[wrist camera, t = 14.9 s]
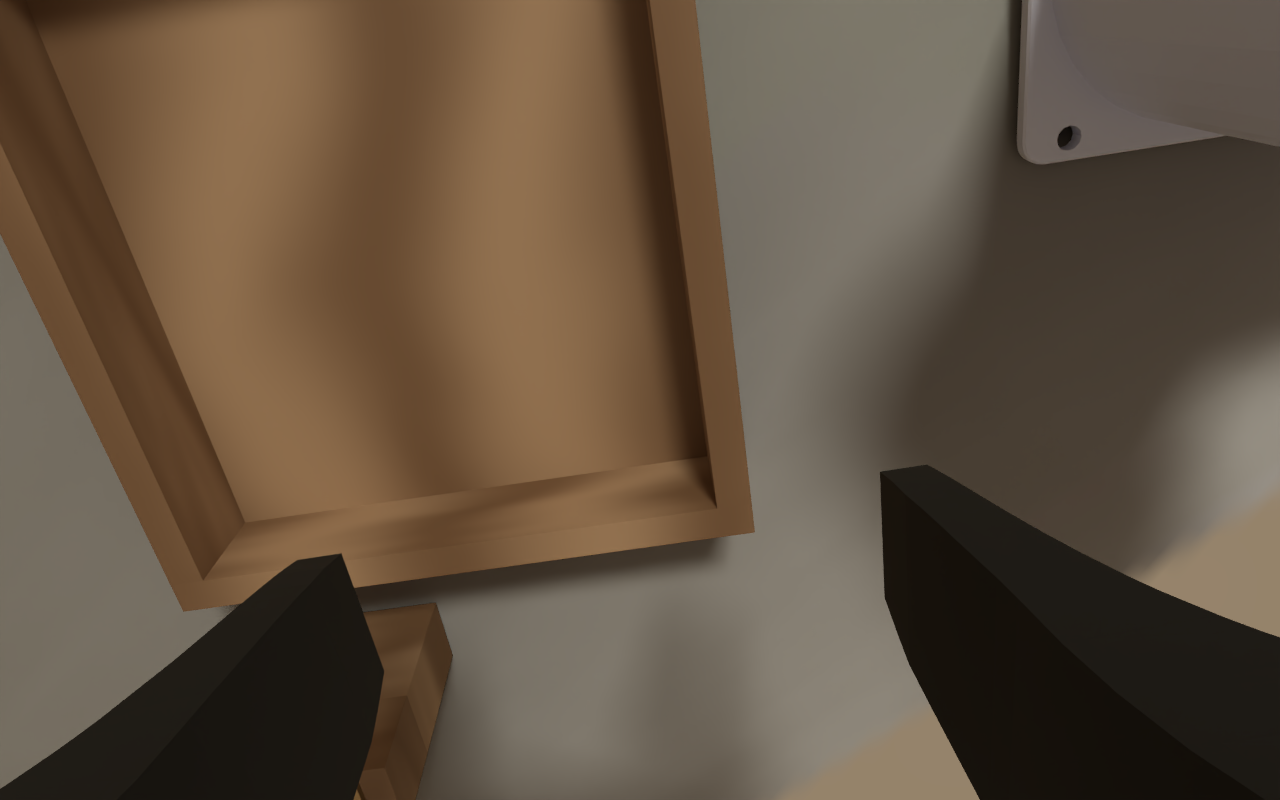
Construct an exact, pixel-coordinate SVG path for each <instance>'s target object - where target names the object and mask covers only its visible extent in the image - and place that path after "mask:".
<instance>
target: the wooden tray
mask: <svg viewBox="0 0 1280 800" xmlns="http://www.w3.org/2000/svg"><path fill="white" fill-rule="evenodd" d="M0 234H1V236H2V238H3V240H4V242H5V244H6V247H7V249H8V251H9V253H10V255H11V257H12V259H13V261H14V263H15V265H16V267H17V269H18V271H19V273H20V275H21V277H22V280H23V282H24V284H25V286H26V288H27V290H28V292H29V294H30V296H31V298H32V300H33V302H34V304H35V306H36V308H37V310H38V313H39V315H40V317H41V319H42V321H43V323H44V325H45V327H46V329H47V331H48V333H49V335H50V337H51V339H52V341H53V343H54V346H55V348H56V350H57V352H58V354H59V356H60V358H61V360H62V362H63V364H64V366H65V368H66V370H67V372H68V374H69V376H70V379H71V381H72V383H73V385H74V387H75V389H76V391H77V393H78V395H79V397H80V399H81V401H82V403H83V405H84V407H85V409H86V412H87V414H88V416H89V418H90V420H91V422H92V424H93V426H94V428H95V430H96V432H97V434H98V436H99V438H100V440H101V442H102V445H103V447H104V449H105V451H106V453H107V455H108V457H109V459H110V461H111V463H112V465H113V467H114V469H115V471H116V473H117V475H118V478H119V480H120V482H121V484H122V486H123V488H124V490H125V492H126V494H127V496H128V498H129V500H130V502H131V504H132V506H133V508H134V511H135V513H136V515H137V517H138V519H139V521H140V523H141V525H142V527H143V529H144V531H145V533H146V535H147V537H148V539H149V541H150V544H151V546H152V548H153V550H154V552H155V554H156V556H157V558H158V560H159V562H160V564H161V566H162V568H163V570H164V572H165V574H166V577H167V579H168V581H169V583H170V585H171V587H172V589H173V591H174V593H175V595H176V597H177V599H178V601H179V603H180V605H181V607H182V610H183V612H184V611H191V610H198V609H205V608H212V607H220V606H227V605H234V604H241V603H243V602H244V601H245V600H246V599H248V598H249V597H250V596H251V595H252V594H253V593H255V592H256V591H257V590H258V589H260V588H261V587H262V586H263V585H264V584H266V583H267V582H268V581H269V580H271V579H272V578H273V577H274V576H276V575H277V574H278V573H280V572H281V571H282V570H283V569H285V568H286V567H288V566H289V565H291V564H292V563H293V562H295V561H296V560H300V559H307V558H313V557H320V556H327V555H333V554H340V553H342V556H343V559H344V562H345V564H346V567H347V570H348V573H349V575H350V578H351V581H352V584H353V586H354V588H357V587H364V586H371V585H378V584H386V583H393V582H400V581H407V580H414V579H422V578H429V577H436V576H443V575H450V574H458V573H465V572H472V571H479V570H486V569H494V568H501V567H508V566H515V565H523V564H530V563H537V562H544V561H551V560H559V559H566V558H573V557H580V556H587V555H595V554H602V553H609V552H616V551H623V550H631V549H638V548H645V547H652V546H660V545H667V544H674V543H681V542H688V541H696V540H703V539H710V538H717V537H724V536H732V535H739V534H746V533H753V532H755V530H754V521H753V512H752V503H751V494H750V485H749V477H748V468H747V459H746V450H745V441H744V432H743V423H742V414H741V405H740V396H739V387H738V378H737V369H736V361H735V352H734V343H733V334H732V325H731V316H730V307H729V298H728V289H727V280H726V271H725V262H724V253H723V245H722V236H721V227H720V218H719V209H718V200H717V191H716V182H715V173H714V164H713V155H712V146H711V138H710V129H709V120H708V111H707V102H706V93H705V84H704V75H703V66H702V57H701V48H700V39H699V30H698V22H697V13H696V4H695V0H0ZM363 614H364V616H365V619H366V622H367V625H368V627H369V630H370V633H371V636H372V638H373V641H374V644H375V647H376V649H377V652H378V655H379V658H380V660H381V663H382V666H383V669H384V676H383V683H382V689H381V695H380V701H379V707H378V713H377V718H376V723H375V728H374V733H373V738H372V743H371V746H370V749H369V752H368V756H367V759H366V762H365V765H364V768H363V771H362V775H361V778H360V781H359V784H360V786H361V788H362V791H363V793H364V796H365V798H366V800H416V796H417V792H418V788H419V784H420V780H421V777H422V773H423V769H424V765H425V761H426V757H427V753H428V749H429V745H430V742H431V738H432V734H433V730H434V726H435V722H436V718H437V714H438V711H439V707H440V703H441V699H442V695H443V691H444V687H445V683H446V680H447V676H448V672H449V668H450V664H451V660H452V656H453V655H452V652H451V649H450V646H449V642H448V639H447V636H446V633H445V630H444V627H443V624H442V621H441V618H440V614H439V611H438V608H437V605H436V603H429V604H422V605H414V606H407V607H400V608H393V609H385V610H378V611H371V612H363Z"/></svg>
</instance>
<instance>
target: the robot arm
mask: <svg viewBox="0 0 1280 800" xmlns="http://www.w3.org/2000/svg"><path fill="white" fill-rule="evenodd" d="M1068 126H1070V127H1072V132H1073V135H1072V138H1071V140H1070V142H1069V143H1068V144H1067V145H1066V146H1063V147H1061V148H1060V147H1059V146H1058V143H1057V138H1058V135H1059V133H1060V132H1061V131H1062V130H1063V128H1065V127H1068ZM1222 136H1231V137H1236V138H1241V139H1245V140H1250V141H1254V142H1259V143H1264V144H1268V145H1273V146H1278V147H1280V0H1022V18H1021V44H1020V70H1019V96H1018V122H1017V148H1018V152H1019V154H1020V155H1021V156H1022V158H1024V159H1026V160H1027V161H1029V162H1032V163H1034V164H1049V163H1056V162H1062V161H1069V160H1075V159H1081V158H1088V157H1094V156H1101V155H1107V154H1113V153H1120V152H1126V151H1133V150H1139V149H1145V148H1152V147H1158V146H1165V145H1171V144H1177V143H1184V142H1190V141H1197V140H1203V139H1209V138H1216V137H1222ZM880 482H881V510H882V537H883V564H884V591H885V600H886V602H887V605H888V608H889V611H890V614H891V616H892V619H893V622H894V625H895V628H896V630H897V633H898V636H899V639H900V641H901V644H902V646H903V649H904V652H905V654H906V657H907V660H908V662H909V665H910V667H911V669H912V671H913V673H914V675H915V677H916V678H917V680H918V682H919V684H920V686H921V688H922V690H923V692H924V694H925V696H926V698H927V700H928V702H929V704H930V706H931V708H932V709H933V711H934V713H935V715H936V717H937V719H938V721H939V723H940V725H941V727H942V728H943V730H944V732H945V734H946V736H947V738H948V740H949V742H950V744H951V746H952V748H953V749H954V751H955V753H956V755H957V757H958V759H959V761H960V763H961V765H962V767H963V768H964V770H965V772H966V774H967V776H968V778H969V780H970V782H971V783H972V785H973V787H974V789H975V791H976V793H977V795H978V797H979V799H980V800H1280V637H1277V636H1274V635H1271V634H1268V633H1265V632H1262V631H1259V630H1257V629H1254V628H1251V627H1249V626H1246V625H1243V624H1241V623H1238V622H1235V621H1232V620H1230V619H1227V618H1225V617H1222V616H1219V615H1217V614H1215V613H1212V612H1210V611H1207V610H1205V609H1203V608H1200V607H1198V606H1195V605H1193V604H1190V603H1188V602H1186V601H1183V600H1181V599H1178V598H1176V597H1174V596H1171V595H1169V594H1166V593H1164V592H1161V591H1159V590H1157V589H1155V588H1152V587H1150V586H1148V585H1146V584H1144V583H1142V582H1139V581H1137V580H1135V579H1133V578H1131V577H1129V576H1126V575H1124V574H1122V573H1120V572H1118V571H1116V570H1114V569H1112V568H1110V567H1108V566H1106V565H1104V564H1102V563H1100V562H1098V561H1096V560H1094V559H1092V558H1090V557H1088V556H1086V555H1084V554H1082V553H1080V552H1078V551H1077V550H1075V549H1073V548H1071V547H1069V546H1067V545H1065V544H1063V543H1062V542H1060V541H1058V540H1056V539H1054V538H1052V537H1050V536H1049V535H1047V534H1045V533H1043V532H1041V531H1040V530H1038V529H1036V528H1034V527H1033V526H1031V525H1029V524H1027V523H1026V522H1024V521H1022V520H1020V519H1019V518H1017V517H1015V516H1013V515H1012V514H1010V513H1008V512H1007V511H1005V510H1003V509H1001V508H1000V507H998V506H996V505H995V504H993V503H991V502H990V501H988V500H986V499H985V498H983V497H981V496H980V495H978V494H976V493H975V492H973V491H971V490H970V489H968V488H966V487H965V486H963V485H961V484H960V483H958V482H956V481H955V480H953V479H951V478H950V477H948V476H946V475H945V474H943V473H941V472H939V471H938V470H936V469H934V468H932V467H930V466H928V465H922V466H915V467H909V468H902V469H896V470H889V471H882V472H880ZM383 676H384V669H383V666H382V663H381V660H380V658H379V655H378V652H377V649H376V647H375V644H374V641H373V638H372V636H371V633H370V630H369V627H368V625H367V622H366V619H365V616H364V614H363V611H362V608H361V605H360V603H359V600H358V597H357V595H356V592H355V589H354V586H353V584H352V581H351V578H350V575H349V573H348V570H347V567H346V564H345V562H344V559H343V556H342V553H340V554H333V555H327V556H320V557H313V558H307V559H300V560H296V561H295V562H293V563H292V564H291V565H289V566H288V567H286V568H285V569H283V570H282V571H281V572H280V573H278V574H277V575H276V576H274V577H273V578H272V579H271V580H269V581H268V582H267V583H266V584H264V585H263V586H262V587H261V588H260V589H258V590H257V591H256V592H255V593H253V594H252V595H251V596H250V597H249V598H248V599H246V600H245V601H244V602H243V603H242V604H240V605H239V606H238V607H237V608H236V609H235V610H233V611H232V612H231V613H230V614H229V615H227V616H226V617H225V618H224V619H223V620H222V621H220V622H219V623H218V624H217V625H216V626H214V627H213V628H212V629H211V630H210V631H208V632H207V633H206V634H205V635H204V636H203V637H201V638H200V639H199V640H198V641H197V642H195V643H194V644H193V645H192V646H191V647H190V648H188V649H187V650H186V651H185V652H184V653H182V654H181V655H180V656H179V657H178V658H176V659H175V660H174V661H173V662H172V663H170V664H169V665H168V666H167V667H165V668H164V669H163V670H162V671H160V672H159V673H158V674H156V675H155V676H154V677H153V678H151V679H150V680H149V681H148V682H146V683H145V684H144V685H142V686H141V687H140V688H139V689H137V690H136V691H135V692H134V693H132V694H131V695H130V696H129V697H127V698H126V699H125V700H123V701H122V702H121V703H120V704H118V705H117V706H116V707H115V708H113V709H112V710H111V711H110V712H108V713H107V714H106V715H104V716H103V717H102V718H101V719H99V720H98V721H97V722H95V723H94V724H93V725H91V726H90V727H89V728H87V729H86V730H85V731H83V732H82V733H81V734H79V735H78V736H76V737H75V738H74V739H72V740H71V741H69V742H68V743H67V744H65V745H64V746H62V747H61V748H60V749H58V750H57V751H55V752H54V753H53V754H51V755H50V756H48V757H47V758H45V759H44V760H42V761H41V762H39V763H38V764H36V765H35V766H34V767H32V768H31V769H29V770H28V771H26V772H25V773H23V774H22V775H20V776H19V777H17V778H16V779H14V780H13V781H12V782H10V783H9V784H7V785H6V786H4V787H3V788H1V789H0V800H354V796H355V793H356V790H357V787H358V784H359V781H360V778H361V775H362V771H363V768H364V765H365V762H366V759H367V756H368V752H369V749H370V746H371V743H372V738H373V733H374V728H375V723H376V718H377V713H378V707H379V701H380V695H381V689H382V683H383Z"/></svg>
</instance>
